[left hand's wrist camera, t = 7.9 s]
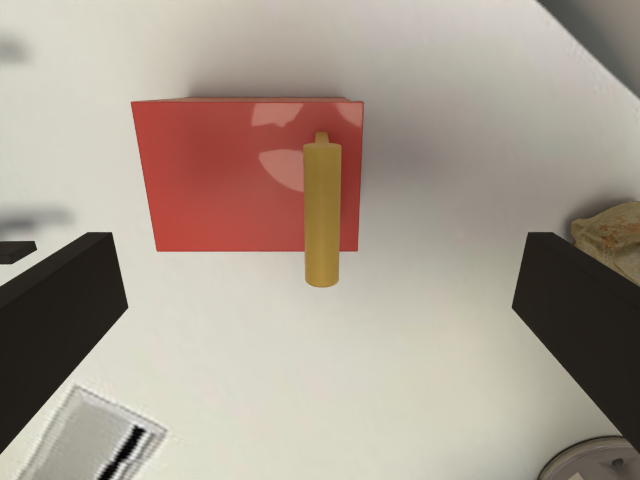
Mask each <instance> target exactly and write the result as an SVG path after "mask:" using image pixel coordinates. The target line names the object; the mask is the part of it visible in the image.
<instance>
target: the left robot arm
mask: <svg viewBox="0 0 640 480" xmlns="http://www.w3.org/2000/svg"><path fill="white" fill-rule="evenodd" d="M127 309H128V304H127V299H126V294H125V290H124V285H123V281H122V276H121V272H120V267H119V262H118V258H117V253H116V249H115V244H114V240H113V235H112V232H87V233H86V234H84V235H82V236H81V237H79V238H78V239H76V240H74V241H73V242H71V243H70V244H68V245H66V246H65V247H63V248H62V249H60V250H58V251H57V252H55V253H54V254H52V255H50V256H49V257H47V258H45V259H44V260H42V261H41V262H39V263H37V264H36V265H34V266H33V267H31V268H29V269H28V270H26V271H25V272H23V273H21V274H20V275H18V276H17V277H15V278H13V279H12V280H10V281H8V282H7V283H5V284H4V285H2V286H0V454H1V453H2V452H3V451H4V450H5V449H6V447H7V446H8V445H9V444H10V443H11V442H12V441H13V439H14V438H15V437H16V436H17V435H18V434H19V432H20V431H21V430H22V429H23V428H24V427H25V426H26V424H27V423H28V422H29V421H30V420H31V419H32V418H33V416H34V415H35V414H36V413H37V412H38V411H39V410H40V408H41V407H42V406H43V405H44V404H45V403H46V402H47V400H48V399H49V398H50V397H51V396H52V395H53V393H54V392H55V391H56V390H57V389H58V388H59V387H60V385H61V384H62V383H63V382H64V381H65V380H66V379H67V377H68V376H69V375H70V374H71V373H72V372H73V371H74V369H75V368H76V367H77V366H78V365H79V364H80V363H81V361H82V360H83V359H84V358H85V357H86V356H87V355H88V353H89V352H90V351H91V350H92V349H93V348H94V346H95V345H96V344H97V343H98V342H99V341H100V340H101V338H102V337H103V336H104V335H105V334H106V333H107V332H108V330H109V329H110V328H111V327H112V326H113V325H114V324H115V322H116V321H117V320H118V319H119V318H120V317H121V316H122V314H123V313H124V312H125V311H126V310H127ZM512 309H513V310H514V311H515V312H516V313H517V314H518V316H519V317H520V318H521V319H522V320H523V321H524V322H525V324H526V325H527V326H528V327H529V328H530V329H531V330H532V332H533V333H534V334H535V335H536V336H537V337H538V338H539V340H540V341H541V342H542V343H543V344H544V345H545V346H546V348H547V349H548V350H549V351H550V352H551V353H552V355H553V356H554V357H555V358H556V359H557V360H558V361H559V363H560V364H561V365H562V366H563V367H564V368H565V369H566V371H567V372H568V373H569V374H570V375H571V376H572V377H573V379H574V380H575V381H576V382H577V383H578V384H579V385H580V387H581V388H582V389H583V390H584V391H585V392H586V393H587V395H588V396H589V397H590V398H591V399H592V400H593V402H594V403H595V404H596V405H597V406H598V407H599V408H600V410H601V411H602V412H603V413H604V414H605V415H606V416H607V418H608V419H609V420H610V421H611V422H612V423H613V424H614V426H615V427H616V428H617V429H618V430H619V431H620V432H621V434H622V435H623V436H624V437H625V438H623V437H608V438H600V439H595V440H591V441H587V442H584V443H581V444H578V445H576V446H574V447H572V448H570V449H568V450H566V451H564V452H563V453H561V454H560V455H558V456H557V457H556V458H555V459H553V460H552V461H551V462H550V463H549V464H548V465H547V466H546V468H545V469H544V470H543V472H542V473H541V475H540V477H539V480H640V286H638V285H636V284H635V283H633V282H632V281H630V280H628V279H627V278H625V277H623V276H622V275H620V274H619V273H617V272H615V271H614V270H612V269H611V268H609V267H607V266H606V265H604V264H603V263H601V262H599V261H598V260H596V259H595V258H593V257H591V256H590V255H588V254H586V253H585V252H583V251H582V250H580V249H578V248H577V247H575V246H574V245H572V244H570V243H569V242H567V241H566V240H564V239H562V238H561V237H559V236H558V235H556V234H554V233H553V232H528V235H527V240H526V244H525V249H524V253H523V258H522V262H521V267H520V272H519V276H518V281H517V285H516V290H515V294H514V299H513V304H512Z"/></svg>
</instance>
